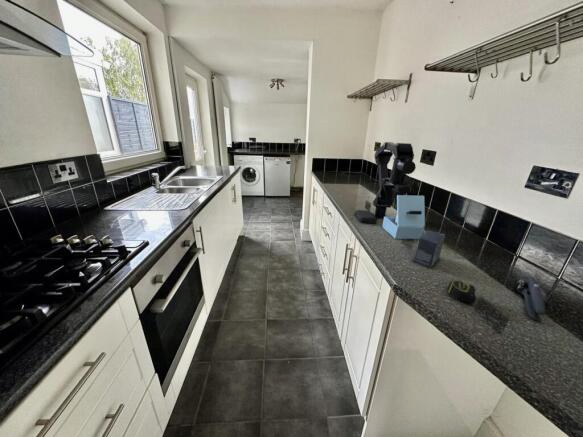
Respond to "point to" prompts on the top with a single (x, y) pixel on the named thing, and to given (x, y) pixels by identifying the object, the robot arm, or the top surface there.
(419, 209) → the lid
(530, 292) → the can opener
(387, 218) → the light blue box
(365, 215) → the carrying case
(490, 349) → the top surface
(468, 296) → the tape measure
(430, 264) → the small box
